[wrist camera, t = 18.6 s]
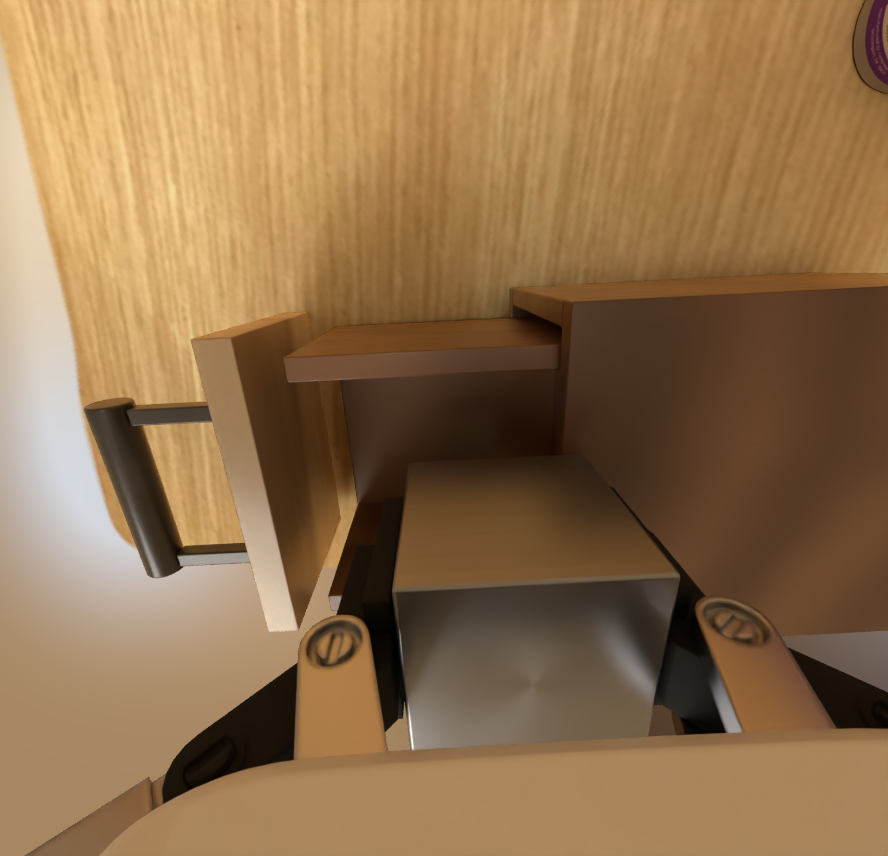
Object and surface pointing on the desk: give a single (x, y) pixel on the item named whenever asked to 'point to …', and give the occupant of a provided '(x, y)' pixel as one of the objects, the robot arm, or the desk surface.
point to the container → (872, 44)
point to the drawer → (306, 441)
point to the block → (526, 605)
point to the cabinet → (740, 430)
